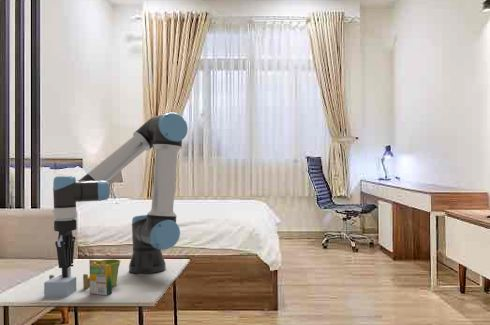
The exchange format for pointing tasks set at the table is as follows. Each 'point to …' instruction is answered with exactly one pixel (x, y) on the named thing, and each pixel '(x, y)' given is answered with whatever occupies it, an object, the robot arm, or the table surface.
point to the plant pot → (112, 269)
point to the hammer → (85, 280)
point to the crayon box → (100, 278)
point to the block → (59, 286)
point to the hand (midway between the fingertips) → (66, 285)
